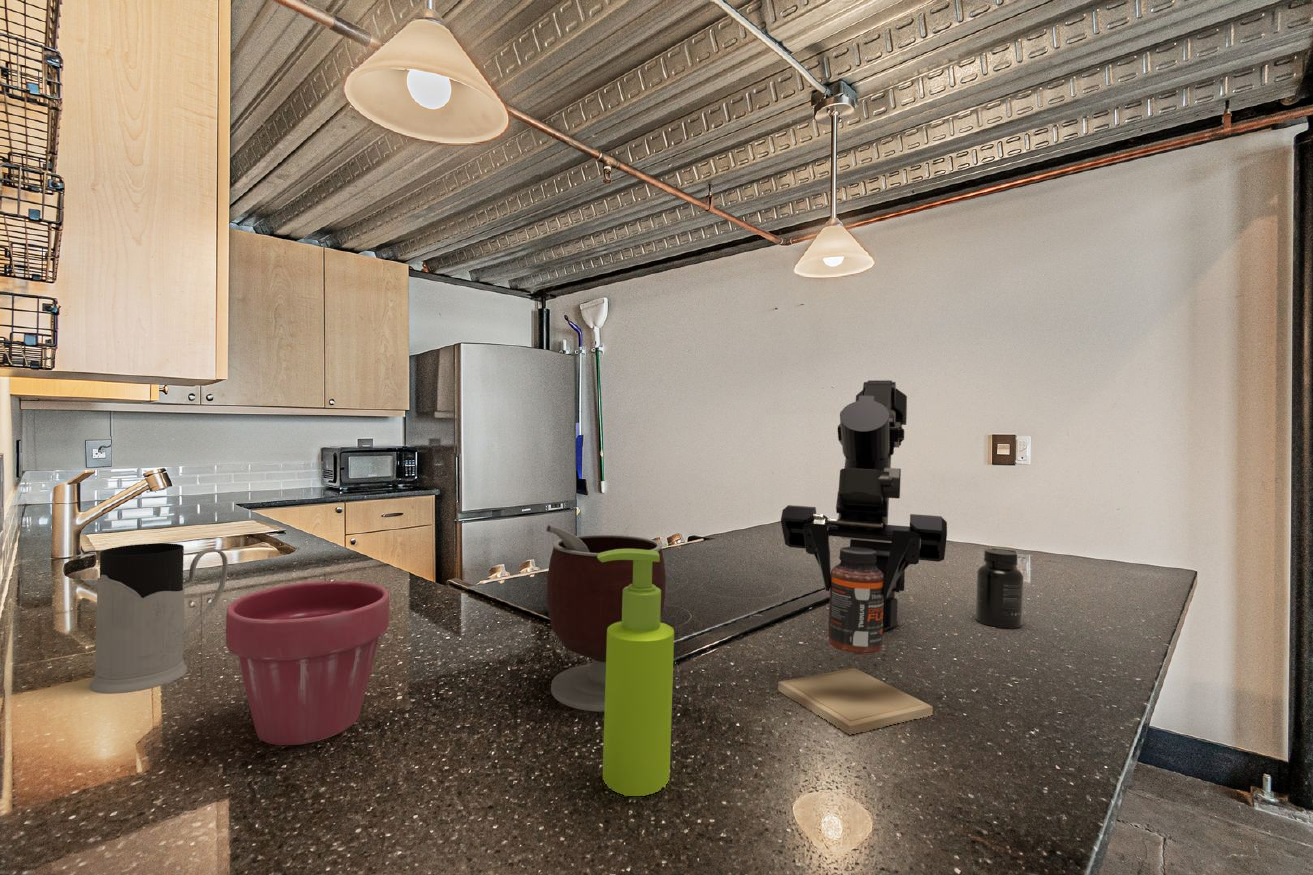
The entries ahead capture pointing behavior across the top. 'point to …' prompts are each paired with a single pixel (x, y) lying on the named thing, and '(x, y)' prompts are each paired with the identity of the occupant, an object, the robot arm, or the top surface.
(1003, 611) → the supplement bottle
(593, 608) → the mate gourd
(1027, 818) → the top surface
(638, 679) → the soap dispenser
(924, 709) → the coaster
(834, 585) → the supplement bottle
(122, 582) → the glass holder
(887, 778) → the top surface
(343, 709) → the plant pot
